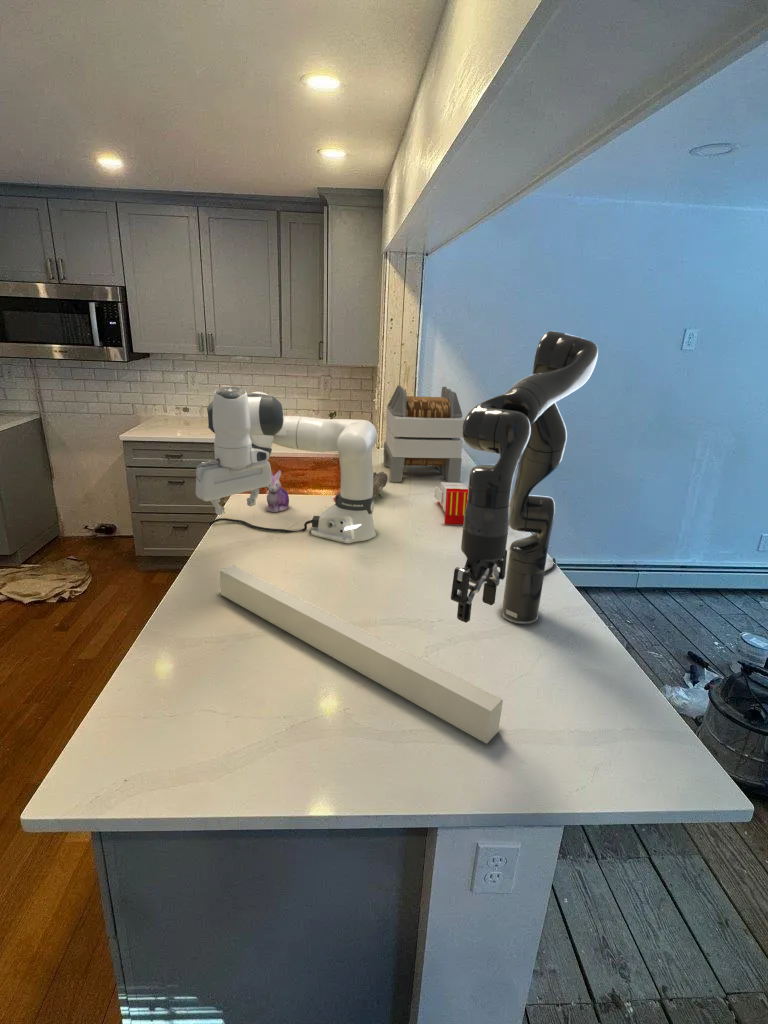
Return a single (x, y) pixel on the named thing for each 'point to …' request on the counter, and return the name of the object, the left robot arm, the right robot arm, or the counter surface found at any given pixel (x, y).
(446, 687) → the post
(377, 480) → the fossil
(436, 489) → the toy
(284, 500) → the figurine
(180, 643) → the counter surface
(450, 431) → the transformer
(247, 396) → the left robot arm
